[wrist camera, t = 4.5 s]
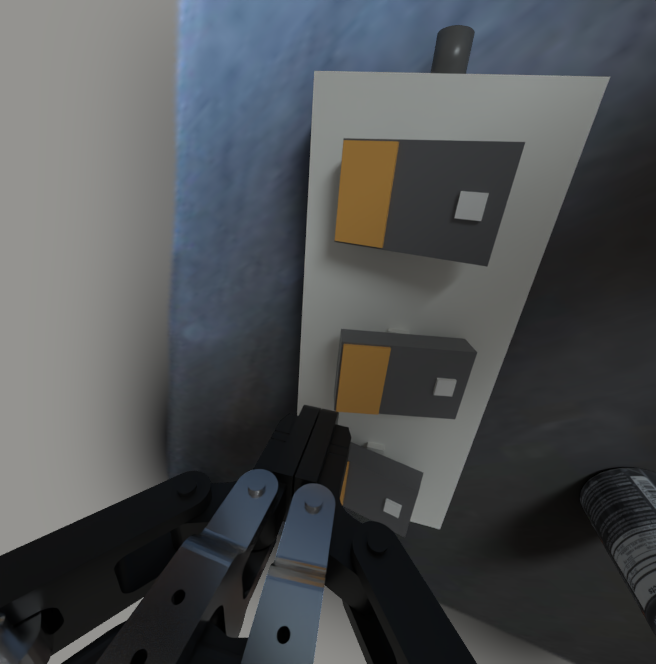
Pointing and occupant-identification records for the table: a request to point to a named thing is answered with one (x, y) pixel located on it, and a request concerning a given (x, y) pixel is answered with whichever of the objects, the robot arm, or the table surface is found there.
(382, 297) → the power strip
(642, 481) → the pill bottle
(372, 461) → the rocker
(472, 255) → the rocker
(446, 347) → the block
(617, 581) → the table surface
